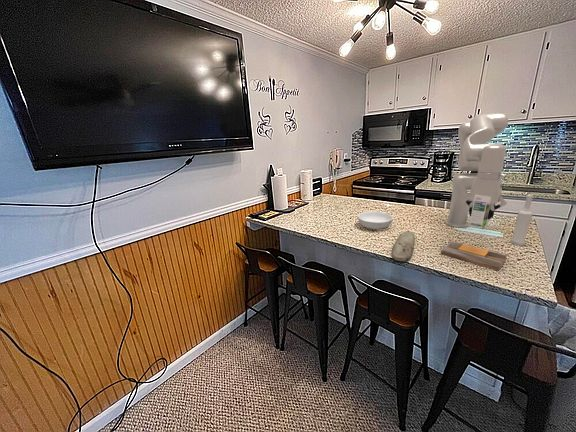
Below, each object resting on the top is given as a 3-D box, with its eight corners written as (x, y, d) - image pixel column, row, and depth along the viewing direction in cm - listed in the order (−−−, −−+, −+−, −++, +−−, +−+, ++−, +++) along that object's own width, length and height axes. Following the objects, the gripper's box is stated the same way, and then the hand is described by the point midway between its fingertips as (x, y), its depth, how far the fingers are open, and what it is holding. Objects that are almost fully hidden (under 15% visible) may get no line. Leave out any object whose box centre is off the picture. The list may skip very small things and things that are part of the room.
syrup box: (468, 226, 109) (474, 194, 105) (472, 222, 113) (478, 191, 108) (484, 229, 105) (491, 196, 101) (488, 225, 109) (495, 193, 104)
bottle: (510, 243, 125) (522, 196, 117) (511, 240, 128) (523, 193, 120) (523, 246, 121) (537, 197, 113) (524, 243, 124) (537, 195, 116)
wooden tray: (450, 246, 126) (451, 239, 125) (505, 260, 110) (507, 253, 108) (440, 254, 119) (441, 247, 118) (498, 271, 102) (500, 263, 101)
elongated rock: (417, 239, 139) (398, 237, 144) (418, 230, 138) (399, 228, 143) (412, 264, 110) (388, 261, 115) (412, 253, 109) (388, 250, 114)
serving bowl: (350, 225, 161) (350, 215, 159) (374, 218, 170) (374, 209, 168) (374, 235, 144) (375, 224, 142) (399, 227, 152) (400, 217, 150)
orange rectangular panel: (462, 245, 119) (463, 244, 119) (488, 252, 111) (489, 250, 111) (457, 250, 115) (458, 248, 115) (484, 257, 107) (484, 255, 107)
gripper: (517, 176, 98) (507, 219, 104) (467, 173, 111) (460, 211, 116) (513, 179, 94) (503, 224, 99) (461, 175, 106) (454, 215, 112)
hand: (480, 216), depth 108 cm, fingers closed on syrup box, 5 cm apart
